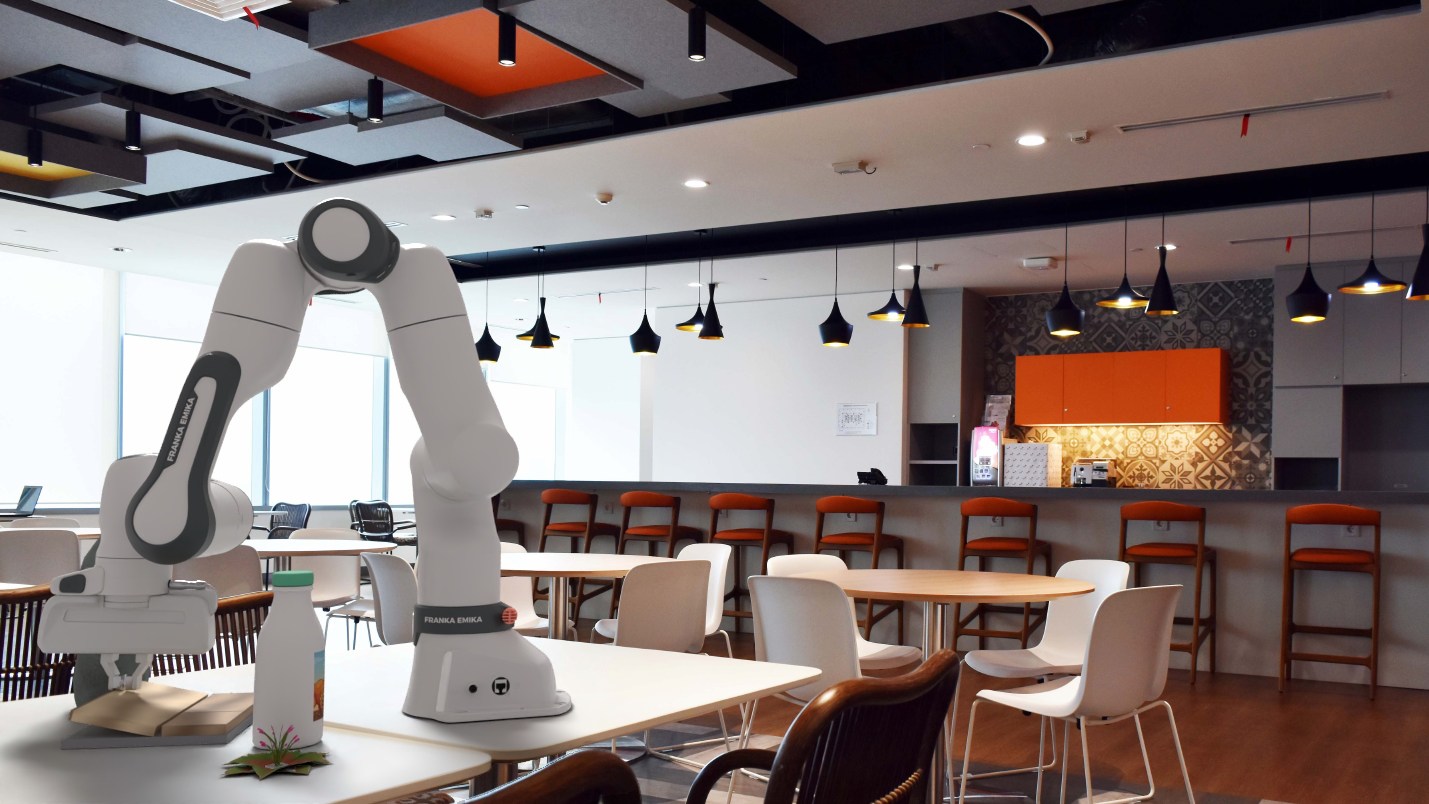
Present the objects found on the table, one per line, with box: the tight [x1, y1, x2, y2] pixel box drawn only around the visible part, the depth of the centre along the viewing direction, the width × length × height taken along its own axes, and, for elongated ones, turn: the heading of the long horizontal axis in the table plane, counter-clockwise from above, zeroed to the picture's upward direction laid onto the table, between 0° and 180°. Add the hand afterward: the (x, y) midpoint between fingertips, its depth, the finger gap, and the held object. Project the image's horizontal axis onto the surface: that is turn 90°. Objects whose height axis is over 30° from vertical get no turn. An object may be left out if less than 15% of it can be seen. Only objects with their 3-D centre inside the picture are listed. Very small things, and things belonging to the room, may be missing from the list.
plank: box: [67, 681, 209, 737], centre depth 133 cm, size 10×20×1 cm, turn 8°
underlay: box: [60, 714, 253, 750], centre depth 133 cm, size 18×20×1 cm
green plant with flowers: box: [219, 725, 333, 780], centre depth 115 cm, size 12×12×5 cm
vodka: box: [72, 534, 151, 708], centre depth 147 cm, size 9×9×30 cm
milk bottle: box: [251, 570, 326, 751], centre depth 126 cm, size 8×8×20 cm
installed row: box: [161, 691, 254, 737], centre depth 134 cm, size 7×20×1 cm, turn 9°
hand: (124, 689), depth 135 cm, fingers closed
